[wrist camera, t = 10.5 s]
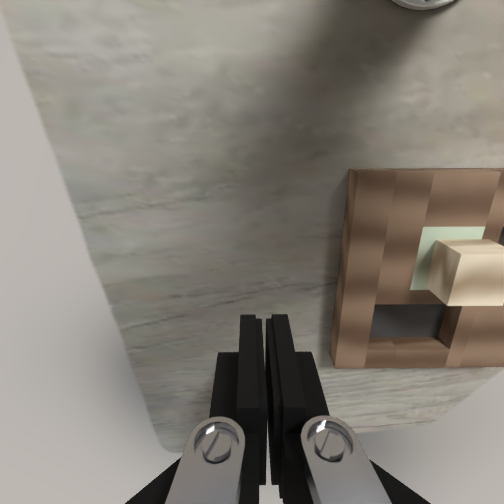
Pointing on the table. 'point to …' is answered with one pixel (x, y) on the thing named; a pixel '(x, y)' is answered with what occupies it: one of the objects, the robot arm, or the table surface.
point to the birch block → (467, 272)
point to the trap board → (413, 269)
